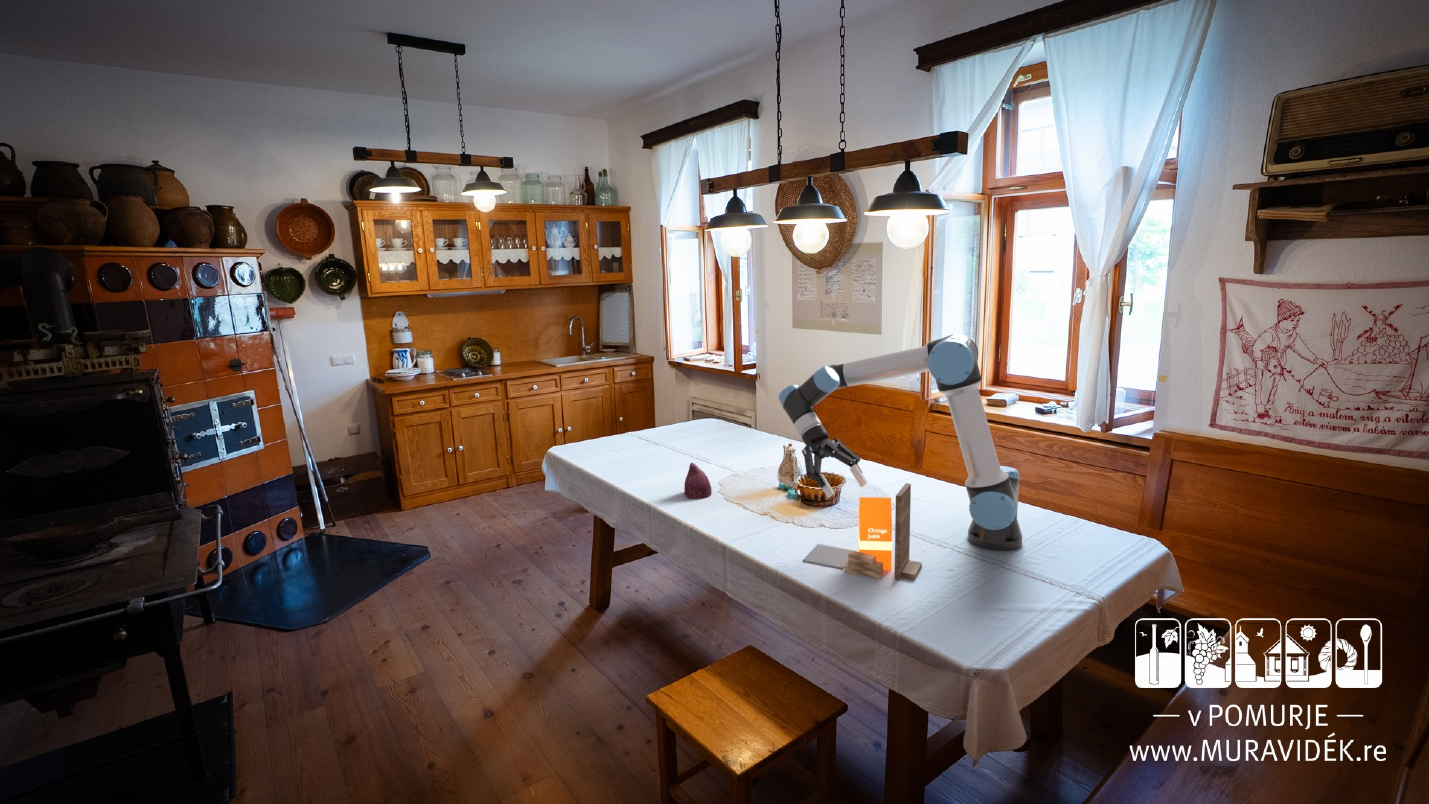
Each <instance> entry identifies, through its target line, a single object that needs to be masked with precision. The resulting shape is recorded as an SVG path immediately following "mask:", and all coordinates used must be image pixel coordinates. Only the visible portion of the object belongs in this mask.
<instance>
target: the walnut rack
mask: <svg viewBox="0 0 1429 804" xmlns="http://www.w3.org/2000/svg"><path fill="white" fill-rule="evenodd" d="M911 488H912V484H911V483H908V482H905V484H904V485H903V486H902V487H901V488H900V490H899V491H898V492H897V493H896V494H895V516H894V517H895V522H894V523H895V524H894V578H893V579H894V580H895V581H901V579H902V578H903V579H907V580H908V579H909V580H914V581H915V580H916V578H917V577H918V576H919V573H920V572H921V570H922V567H923V563H922V562H920V561H915V560H910V548H911V547H910V542H911V538H910V537H911V535H910V534H911V500H912V499H911V495H912V493H911V491H912V489H911ZM851 550H852V549H851ZM843 570H844V573H847V574H850V575H851V574H852V575H858V576H862V577H866V578H867V577H868V578H871V579H876V580H881V579H882V577H883V576H884V570H883V562H878V561H876V556H875V555H871V554H866V553H862V552H859V551H857V550H852V551H851V552H850V553H849V554H848V562H847V564H846V565H845V566H844V568H843Z"/></svg>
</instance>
